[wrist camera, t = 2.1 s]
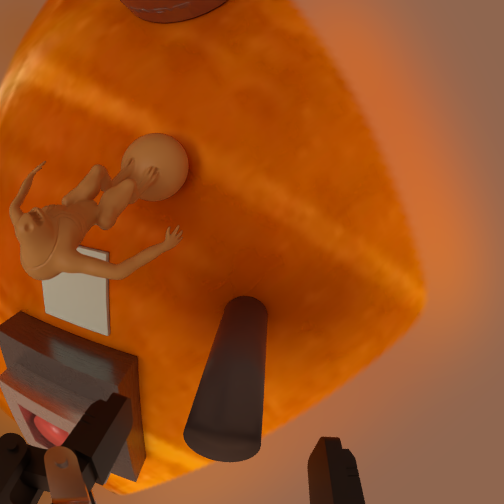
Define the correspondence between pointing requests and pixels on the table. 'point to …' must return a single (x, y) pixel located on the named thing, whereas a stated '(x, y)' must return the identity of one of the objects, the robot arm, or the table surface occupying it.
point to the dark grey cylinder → (232, 387)
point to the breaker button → (50, 431)
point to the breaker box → (66, 383)
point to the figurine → (99, 211)
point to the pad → (80, 297)
